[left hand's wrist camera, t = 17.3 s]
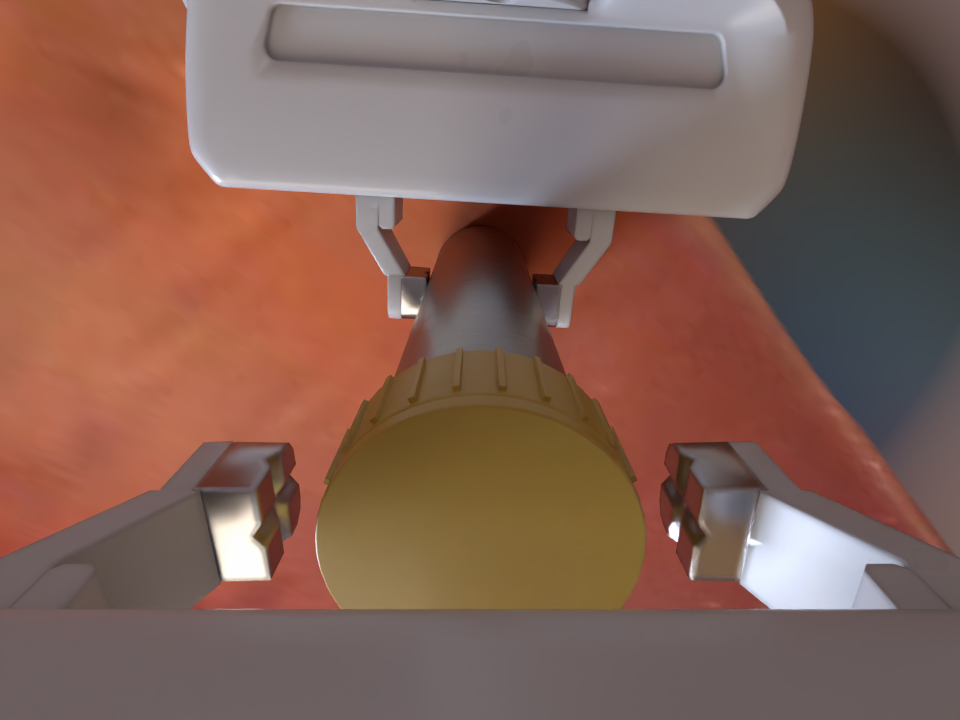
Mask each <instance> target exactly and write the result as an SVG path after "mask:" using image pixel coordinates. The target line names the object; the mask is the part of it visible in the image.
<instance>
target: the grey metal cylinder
mask: <svg viewBox="0 0 960 720" xmlns="http://www.w3.org/2000/svg"><path fill="white" fill-rule="evenodd" d="M496 347H498V348H503V352H507V353H512V354H518V355H521V356H524V357H527V358H531V359H534V357H535V356H537V357H539V358H541V362H542V363H543V364H545V365H548V366H550V367H552V368H554V369H555V370H557V371H559V372H560V373H562V374H563V375H565V376H566V374H565V371H564V368H563V365H562V363H561V360H560V357H559V355H558V352H557V349H556V346H555V344H554V341H553V338H552V335H551V333H550V330H549V327H548V325H547V322H546V319H545V316H544V314H543V311H542V308H541V306H540V303H539V300H538V297H537V295H536V292H535V289H534V286H533V284H532V281H531V278H530V276H529V273H528V270H527V267H526V265H525V262H524V259H523V257H522V254H521V252H520V249H519V247H518V246H517V244H516V243H515V242H514V240H513V239H512V238H511V237H510V236H508V235H507V234H506V233H504V232H503V231H501V230H499V229H497V228H494V227H490V226H483V225H477V226H470V227H467V228H464V229H462V230H460V231H458V232H456V233H455V234H453V235H452V236H451V237H450V238H449V239H448V240H447V241H446V242H445V244H444V245H443V247H442V248H441V251H440V253H439V255H438V258H437V261H436V264H435V266H434V269H433V272H432V275H431V277H430V280H429V283H428V286H427V288H426V291H425V294H424V297H423V299H422V302H421V305H420V308H419V310H418V313H417V316H416V319H415V321H414V324H413V327H412V330H411V333H410V335H409V338H408V341H407V344H406V346H405V349H404V352H403V355H402V357H401V360H400V363H399V366H398V368H397V371H396V374H395V376H397V375H398V374H400V373H401V372H403V371H404V370H406V369H408V368H410V367H412V366H414V365H416V364H417V363H418V359H420V358H422V357H424V358H425V360H428V359H431V358H434V357H437V356H440V355H444V354H449V353H455V352H456V349H457V348H463V351H473V350H487V351H496Z"/></svg>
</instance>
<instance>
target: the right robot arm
mask: <svg viewBox="0 0 960 720" xmlns="http://www.w3.org/2000/svg"><path fill="white" fill-rule="evenodd" d="M183 2H184V5H185V7H186V9H187V21H186V53H185V64H186V105H187V121H188V134H189V143H190V148H191V152H192V154H193V156H194V158H195V159H196V160H197V162H198V163H199V164H200V165H201V167H202V168H203V169H204V170H205V172H206V173H207V174H208V175H209V176H210V178H211V179H212V180H213V181H214V182H215V183H216V184H218V185H220V186H223V187H233V188H249V189H266V190H282V191H299V192H315V193H331V194H348V195H356V226H357V229H358V231H359V233H360V234H361V236H362V238H363V240H364V241H365V243H366V245H367V246H368V248H369V250H370V251H371V253H372V255H373V256H374V258H375V260H376V261H377V263H378V265H379V267H380V268H381V270H382V272H383V273H384V275H388V315H389V318H398V319H402V318H404V319H416V316H417V313H418V310H419V308H420V305H421V302H422V299H423V297H424V294H425V291H426V288H427V286H428V283H429V280H430V268H425V267H412V266H410V264H409V262H408V260H407V258H406V256H405V254H404V252H403V250H402V248H401V247H400V245H399V243H398V241H397V239H396V237H395V235H394V233H393V231H392V229H393V228H394V227H395V226H396V225H397V224H398V223H399V222H400V221H401V220H402V211H403V198H414V199H430V200H447V201H463V202H479V203H496V204H512V205H529V206H545V207H562V208H568V214H567V224H566V229H567V230H568V232H569V233H570V234H571V235H572V236H573V237H574V238H575V239H576V240H575V242H574V243H573V245H572V246H571V247H570V249H569V250H568V252H567V253H566V255H565V256H564V258H563V259H562V260H561V262H560V263H559V265H558V266H557V268H556V269H555V271H554V272H553V275H549V274H533V277H532V284H533V286H534V289H535V292H536V295H537V297H538V300H539V303H540V306H541V308H542V311H543V314H544V316H545V319H546V322H547V325H548V327H560V328H568V327H569V325H570V322H571V315H572V307H573V300H574V292H575V286H579V285H580V283H581V282H582V281H583V280H584V278H585V277H586V276H587V274H588V273H589V272H590V270H591V269H592V268H593V267H594V265H595V264H596V263H597V261H598V260H599V259H600V257H601V256H602V255H603V254H604V252H605V251H606V250H607V248H608V247H609V246H610V244H611V242H612V236H613V229H614V223H615V216H616V211H628V212H644V213H660V214H677V215H693V216H710V217H726V218H744V219H748V218H752V217H754V216H756V215H757V214H758V213H759V212H761V211H762V210H763V209H764V208H765V207H766V206H767V205H768V204H769V203H770V202H771V201H772V200H773V199H774V198H775V197H776V196H777V195H778V194H779V193H780V192H781V190H782V188H783V187H784V185H785V182H786V180H787V177H788V174H789V170H790V167H791V163H792V159H793V155H794V151H795V147H796V142H797V138H798V133H799V129H800V124H801V119H802V114H803V109H804V103H805V97H806V91H807V85H808V78H809V71H810V64H811V57H812V49H813V40H814V11H813V4H812V0H183Z"/></svg>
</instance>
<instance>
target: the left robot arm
mask: <svg viewBox="0 0 960 720" xmlns="http://www.w3.org/2000/svg"><path fill="white" fill-rule="evenodd" d="M664 464H665V466H666V468H667V470H668V472H669V473H670V476H669V477H668V478H667V479H666V480H665V481H664V482H663V483H662V484H661V490H660V499H659V501H660V515H661V518H662V522H663V526H664V528H665V530H666V532H667V535H668V536H670V537H671V538H673V539H674V540H676V541H677V542H678V543H677V549H676V553H677V556H678V558H679V560H680V562H681V564H682V566H683V568H684V570H685V572H686V574H687V576H688V578H689V580H708V581H740V584H741V585H742V586H743V587H744V588H746V589H747V590H748V591H749V592H751V593H752V594H753V595H754V596H756V597H757V598H758V599H759V600H760V601H762V602H763V603H764V604H765V605H767V606H768V607H769V608H770V609H190V608H191V607H192V606H194V605H195V604H196V603H197V602H199V601H200V600H201V599H202V598H204V597H205V596H206V595H207V594H208V593H210V592H211V591H212V590H213V589H215V588H216V587H217V586H218V585H220V581H250V580H271V578H272V576H273V574H274V572H275V570H276V568H277V566H278V564H279V562H280V560H281V558H282V556H283V554H284V549H283V541H284V540H286V539H287V538H289V537H290V536H292V535H293V532H294V530H295V528H296V526H297V523H298V518H299V513H300V489H299V484H298V483H297V482H296V481H295V480H294V479H293V478H292V477H291V476H290V474H291V472H292V470H293V468H294V466H295V465H296V462H295V456H294V450H293V447H292V446H291V445H290V444H289V443H274V442H233V441H223V442H206V443H203V444H202V445H201V446H200V447H199V448H198V449H197V450H196V452H195V453H194V454H193V455H192V456H191V457H190V458H189V459H188V460H187V461H186V462H185V463H184V464H183V466H182V467H181V468H180V469H179V470H178V471H177V472H176V473H175V474H174V475H173V476H172V477H171V478H170V479H169V481H168V482H167V483H166V484H165V485H164V486H163V487H162V488H161V489H160V490H154V491H148V492H146V493H144V494H141V495H139V496H137V497H135V498H132V499H130V500H128V501H126V502H124V503H121V504H119V505H117V506H115V507H112V508H110V509H108V510H106V511H104V512H101V513H99V514H97V515H95V516H92V517H90V518H88V519H86V520H83V521H81V522H79V523H77V524H75V525H72V526H70V527H68V528H66V529H63V530H61V531H59V532H57V533H55V534H52V535H50V536H48V537H46V538H43V539H41V540H39V541H37V542H34V543H32V544H30V545H28V546H26V547H23V548H21V549H19V550H17V551H14V552H12V553H10V554H8V555H6V556H3V557H1V558H0V720H960V558H959V557H956V556H954V555H952V554H950V553H947V552H945V551H943V550H941V549H939V548H936V547H934V546H932V545H930V544H927V543H925V542H923V541H921V540H919V539H916V538H914V537H912V536H910V535H907V534H905V533H903V532H901V531H899V530H896V529H894V528H892V527H890V526H887V525H885V524H883V523H881V522H879V521H876V520H874V519H872V518H870V517H868V516H865V515H863V514H861V513H859V512H856V511H854V510H852V509H850V508H848V507H845V506H843V505H841V504H839V503H836V502H834V501H832V500H830V499H828V498H825V497H823V496H821V495H819V494H816V493H814V492H812V491H806V490H800V489H799V488H798V487H797V486H796V485H795V484H794V483H793V482H792V480H791V479H790V478H789V477H788V476H787V475H786V474H785V473H784V472H783V471H782V470H781V469H780V468H779V466H778V465H777V464H776V463H775V462H774V461H773V460H772V459H771V458H770V457H769V456H768V455H767V454H766V452H765V451H764V450H763V449H762V448H761V447H760V446H759V445H758V444H757V443H754V442H752V441H742V442H703V443H673V444H669V446H668V448H667V451H666V455H665V462H664Z"/></svg>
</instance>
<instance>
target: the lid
mask: <svg viewBox="0 0 960 720" xmlns="http://www.w3.org/2000/svg"><path fill="white" fill-rule="evenodd" d="M636 481H637V478H636V476H635V474H634V471H633V469H632V467H631V465H630V463H629V461H628V459H627V456H626V454H625V452H624V450H623V448H622V446H621V443H620V441H619V439H618V437H617V435H616V433H615V431H614V428H613V427H610V426H609V424H608V421H607V419H606V417H605V415H604V413H603V410H602V408H601V406H600V404H599V402H598V400H597V399H596V398H594V399H593V400H591V399H590V398H589V397H588V395H587V394H586V393H585V392H584V391H583V390H582V389H581V388H580V387H579V386H578V385H577V384H576V382H575V379H574V377H573V376H572V375H571V374H568V375H567V376H565V375H563V374H562V373H560V372H559V371H557V370H555V369H554V368H552V367H550V366H548V365H545V364H543V363H542V362H541V358H539V357H537V356H535V357H534V359H531V358H527V357H524V356H521V355H518V354H512V353H507V352H503V348H498V347H496V351H487V350H473V351H463V348H457V349H456V352H455V353H449V354H444V355H440V356H437V357H434V358H431V359H428V360H425V358H424V357H422V358H420V359H418V363H417V364H416V365H414V366H412V367H410V368H408V369H406V370H404V371H403V372H401V373H400V374H398V375H397V376H395V377H394V378H393V377H392V376H391V375H390V376H388V377H387V378H386V380H385V382H384V385H383V387H382V388H380V389H379V390H378V391H377V392H376V394H375V395H374V396H373V397H372V398H371V399H370V400H369V402H368V401H366V400H364V401H363V402H362V404H361V406H360V408H359V410H358V413H357V415H356V417H355V419H354V421H353V424H352V426H351V428H350V429H348V430H347V432H346V434H345V436H344V438H343V440H342V443H341V445H340V447H339V449H338V451H337V454H336V456H335V458H334V460H333V462H332V464H331V467H330V469H329V471H328V473H327V475H326V478H325V480H324V484H327V485H328V487H327V489H326V491H325V493H324V496H323V498H322V500H321V504H320V508H319V512H318V515H317V522H316V532H315V540H316V553H317V558H318V562H319V566H320V571H321V573H322V576H323V578H324V581H325V583H326V586H327V588H328V590H329V591H330V593H331V595H332V596H333V598H334V600H335V602H336V603H337V604H338V605H339V607H340V608H341V609H621V607H622V606H623V605H624V604H625V602H626V601H627V599H628V598H629V596H630V594H631V592H632V590H633V589H634V587H635V585H636V583H637V580H638V577H639V575H640V572H641V569H642V565H643V561H644V556H645V551H646V525H645V516H644V512H643V509H642V505H641V502H640V498H639V496H638V494H637V492H636V489H635V487H634V485H633V482H636Z"/></svg>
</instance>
